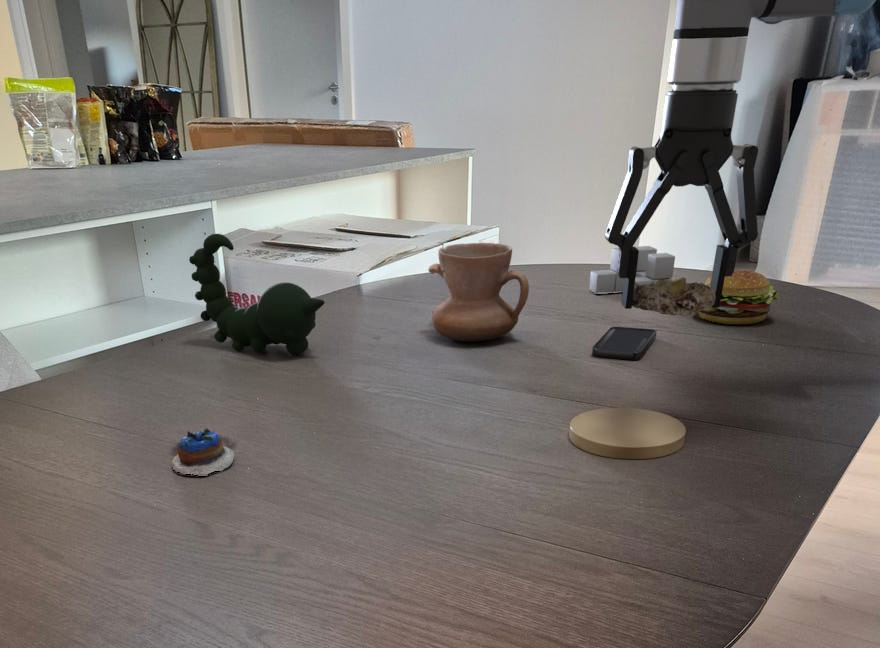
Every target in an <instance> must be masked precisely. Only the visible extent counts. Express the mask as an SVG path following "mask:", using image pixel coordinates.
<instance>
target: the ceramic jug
mask: <svg viewBox="0 0 880 648" xmlns="http://www.w3.org/2000/svg"><path fill="white" fill-rule="evenodd" d="M437 251H438V252H437V253H438V254H437V255H438V263H433V264H431V265H430V266H428V269H427V270H428V272H429V273H431V274H432V275H433V274H438V276H440V277H442V278H443V279H444V282H445V284H446V287H447V289H448V293H449V296H448V297H447V299H445V300H444V301H442V302H441V303H440V304H438V306H436V308H435V309H433V310H432V311H431V314H432V315H431V323H432V326H433V328H434V330H435V331H436V333H438V334H440V335H441V336H443V337H445V338H446V339H447V338H448V339H451V340H453V341H458V342H468V343H469V342H470V343H473V342H474V343H475V342H484V341H490V340H495V339H498V338H501V337H503V336H505V335H507V334H509V333H510V332H511V331H513V330H514V328H515V327H516V325H517V324H518V321H519V316H520V314H521V312H522V310H524V307H525V305H526V303H527V300H528V297H529V292H530V284H529V280H528V277H527V275H526V274H524V272H522V271H520V270H518V269H517V270H516V269H513V270H510V265H511V262H512V257H513V248H512V246H511V245H507V244H502V243H494V242H469V243H455V244H448V245H446V246H445V247H440V248H439V249H438V250H437ZM511 280H516V281H518V282H519V286H520V287H519V296H518V301H517V303H516V306H515V307H514V308H513V307H512V306H511V304H509V303H508V302H506V301H505V300H504V299H503V298H502V297H501V296H500V293H501V290H502V288H503V287H504V285H506V284H507V283H508V282H510V281H511Z"/></svg>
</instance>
